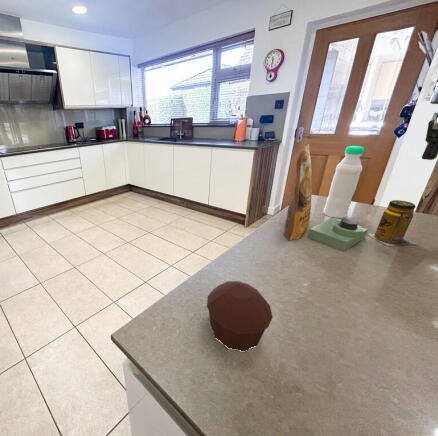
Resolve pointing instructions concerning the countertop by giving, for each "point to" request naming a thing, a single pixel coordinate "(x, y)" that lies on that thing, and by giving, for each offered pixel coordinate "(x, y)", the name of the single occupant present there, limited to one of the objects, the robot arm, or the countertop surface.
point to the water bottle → (344, 183)
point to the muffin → (238, 314)
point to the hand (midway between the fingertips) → (428, 159)
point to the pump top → (348, 224)
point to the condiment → (395, 223)
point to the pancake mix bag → (300, 198)
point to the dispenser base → (336, 234)
